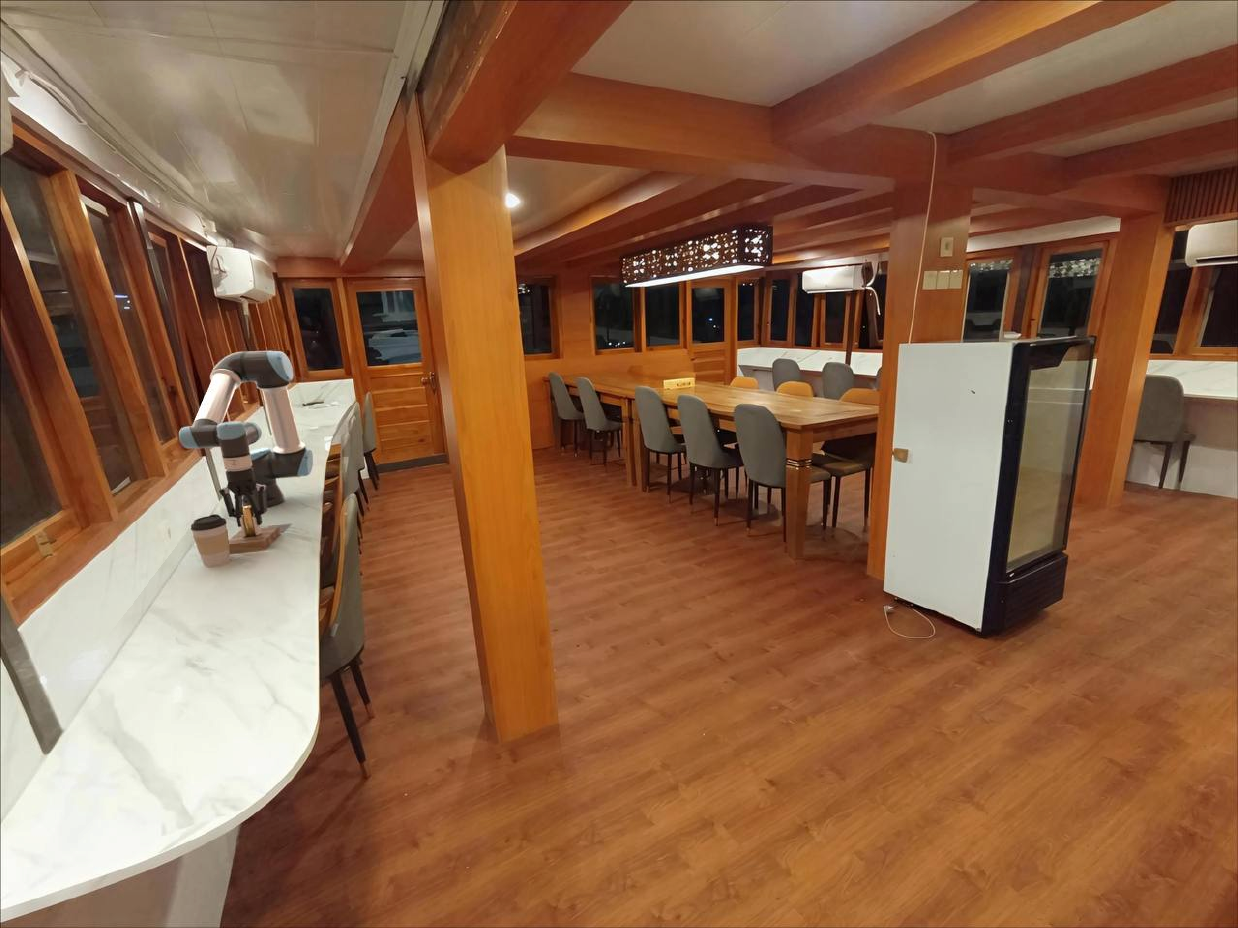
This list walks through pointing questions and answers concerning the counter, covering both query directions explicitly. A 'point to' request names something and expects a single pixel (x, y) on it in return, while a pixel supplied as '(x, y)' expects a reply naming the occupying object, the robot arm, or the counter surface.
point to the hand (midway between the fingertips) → (252, 534)
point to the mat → (282, 527)
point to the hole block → (254, 540)
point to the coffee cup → (212, 540)
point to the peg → (248, 521)
